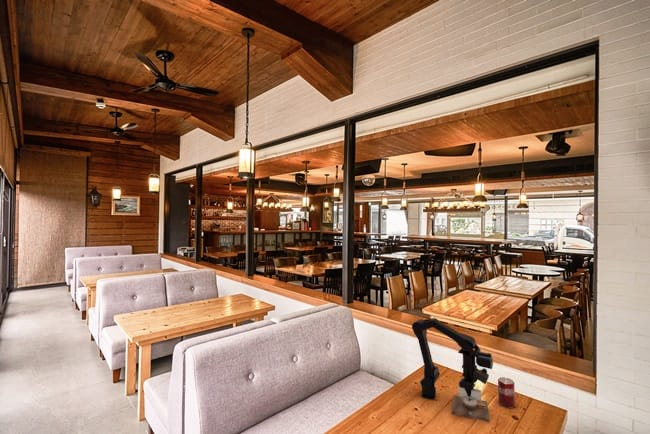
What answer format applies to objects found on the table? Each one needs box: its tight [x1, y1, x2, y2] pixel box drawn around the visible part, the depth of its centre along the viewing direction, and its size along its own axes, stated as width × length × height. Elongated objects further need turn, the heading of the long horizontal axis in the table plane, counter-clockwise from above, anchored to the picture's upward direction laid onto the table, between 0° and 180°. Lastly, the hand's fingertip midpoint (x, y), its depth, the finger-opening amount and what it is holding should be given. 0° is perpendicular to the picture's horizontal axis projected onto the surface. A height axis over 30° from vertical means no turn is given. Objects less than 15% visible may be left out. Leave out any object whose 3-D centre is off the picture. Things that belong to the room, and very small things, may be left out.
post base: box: [451, 394, 490, 423], centre depth 157 cm, size 16×15×2 cm
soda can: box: [497, 376, 516, 409], centre depth 160 cm, size 7×7×12 cm
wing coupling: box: [458, 386, 485, 410], centre depth 157 cm, size 12×7×8 cm, turn 67°
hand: (469, 395), depth 157 cm, fingers closed
